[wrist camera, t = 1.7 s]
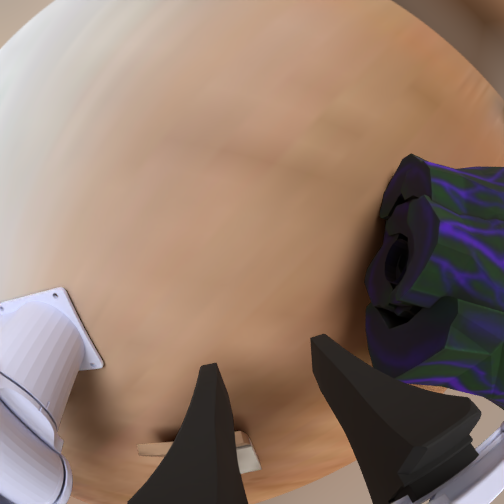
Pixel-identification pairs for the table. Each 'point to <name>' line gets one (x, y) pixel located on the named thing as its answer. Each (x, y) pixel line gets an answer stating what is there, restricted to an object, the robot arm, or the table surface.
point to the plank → (163, 447)
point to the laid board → (247, 458)
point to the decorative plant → (440, 279)
